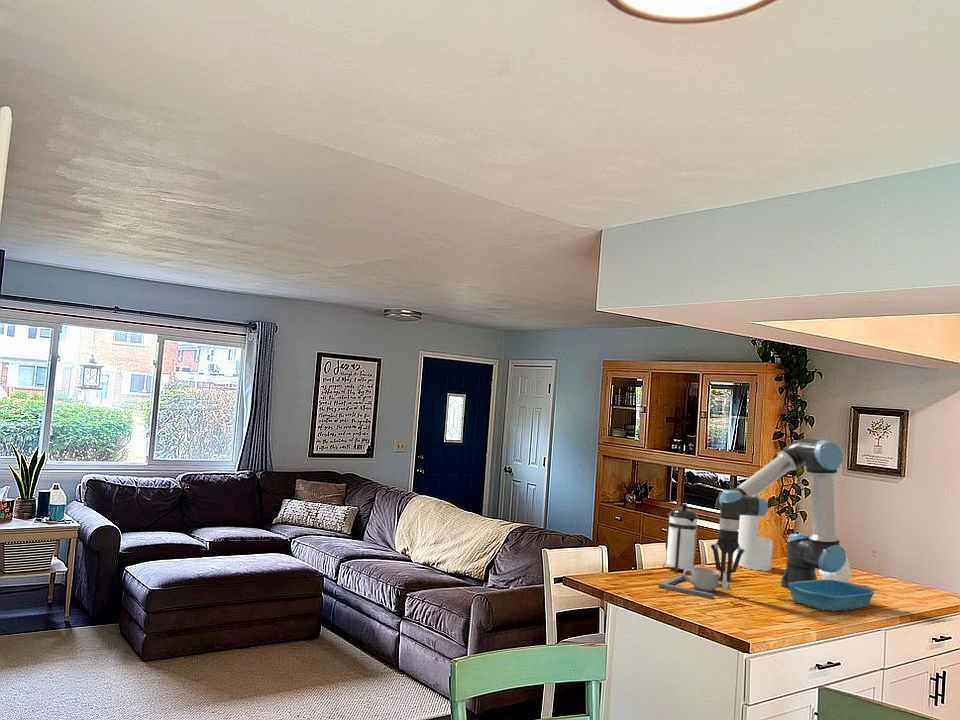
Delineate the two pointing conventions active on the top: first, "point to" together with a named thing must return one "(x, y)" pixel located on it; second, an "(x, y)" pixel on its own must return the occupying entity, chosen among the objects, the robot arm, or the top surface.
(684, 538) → the coffee press
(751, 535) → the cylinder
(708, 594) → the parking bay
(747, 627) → the top surface
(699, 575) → the teacup
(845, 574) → the cup
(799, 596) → the casserole dish
